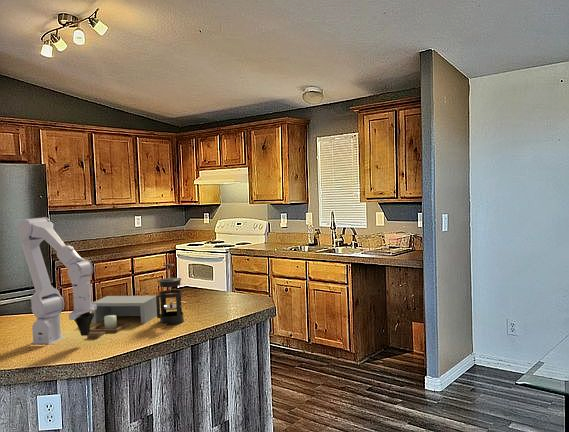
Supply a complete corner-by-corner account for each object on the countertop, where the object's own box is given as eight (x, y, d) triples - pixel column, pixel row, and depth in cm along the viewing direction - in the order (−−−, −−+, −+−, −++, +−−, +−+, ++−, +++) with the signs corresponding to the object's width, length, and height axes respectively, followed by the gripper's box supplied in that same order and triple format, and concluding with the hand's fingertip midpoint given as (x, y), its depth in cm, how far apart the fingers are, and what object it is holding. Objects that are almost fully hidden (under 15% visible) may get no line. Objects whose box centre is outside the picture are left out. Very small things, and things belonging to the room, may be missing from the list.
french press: (175, 317, 212) (172, 261, 210) (190, 320, 206) (187, 263, 204) (151, 324, 202) (148, 265, 201) (166, 327, 197) (163, 267, 195)
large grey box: (145, 325, 201) (143, 303, 201) (92, 325, 205) (90, 303, 204) (158, 316, 214) (157, 295, 214) (108, 316, 218) (107, 296, 217)
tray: (107, 340, 183) (106, 333, 183) (78, 339, 185) (77, 333, 185) (128, 327, 200) (128, 321, 200) (102, 327, 201) (101, 321, 201)
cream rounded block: (113, 329, 195) (112, 317, 194) (102, 329, 195) (101, 317, 195) (119, 326, 199) (118, 314, 199) (108, 326, 200) (107, 314, 199)
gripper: (81, 300, 170) (84, 341, 171) (103, 291, 185) (106, 329, 185) (61, 301, 171) (64, 341, 172) (85, 291, 186) (87, 329, 186)
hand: (84, 335), depth 179 cm, fingers closed
